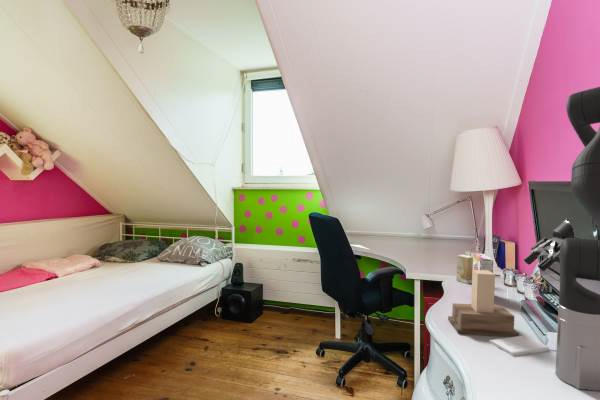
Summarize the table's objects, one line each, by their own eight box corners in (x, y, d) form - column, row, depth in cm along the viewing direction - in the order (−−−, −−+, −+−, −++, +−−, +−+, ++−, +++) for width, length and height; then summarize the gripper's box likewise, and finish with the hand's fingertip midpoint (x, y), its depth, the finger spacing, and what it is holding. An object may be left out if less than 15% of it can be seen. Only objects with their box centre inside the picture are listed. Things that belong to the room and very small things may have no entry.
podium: (518, 337, 106) (519, 317, 106) (458, 333, 109) (458, 314, 108) (502, 322, 117) (503, 304, 117) (448, 319, 120) (448, 302, 119)
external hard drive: (549, 353, 98) (512, 358, 95) (523, 340, 106) (488, 344, 103) (549, 347, 98) (512, 352, 95) (523, 334, 106) (488, 338, 103)
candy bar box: (471, 291, 151) (472, 253, 150) (484, 292, 150) (485, 253, 149) (478, 300, 140) (480, 258, 139) (492, 301, 139) (494, 259, 138)
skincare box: (455, 280, 168) (456, 254, 167) (462, 279, 170) (463, 254, 169) (467, 284, 162) (468, 257, 161) (474, 283, 164) (474, 256, 163)
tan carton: (493, 312, 110) (495, 274, 109) (476, 311, 111) (477, 273, 110) (487, 307, 115) (488, 270, 114) (471, 306, 116) (472, 269, 115)
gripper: (552, 219, 116) (513, 252, 118) (580, 223, 102) (536, 261, 104) (569, 235, 116) (530, 269, 118) (600, 242, 102) (554, 280, 103)
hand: (532, 265), depth 111 cm, fingers open, 8 cm apart
